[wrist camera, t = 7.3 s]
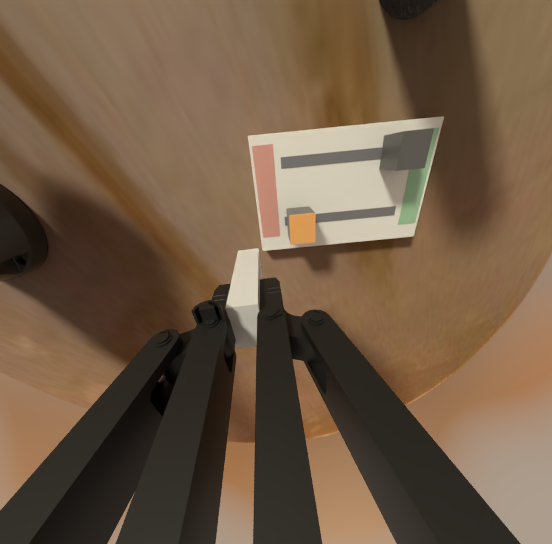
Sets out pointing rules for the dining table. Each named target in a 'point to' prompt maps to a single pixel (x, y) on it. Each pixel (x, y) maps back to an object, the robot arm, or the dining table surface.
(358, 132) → the board
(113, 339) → the dining table surface
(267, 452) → the robot arm
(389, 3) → the travel mug
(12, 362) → the dining table surface
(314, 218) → the breaker handle
